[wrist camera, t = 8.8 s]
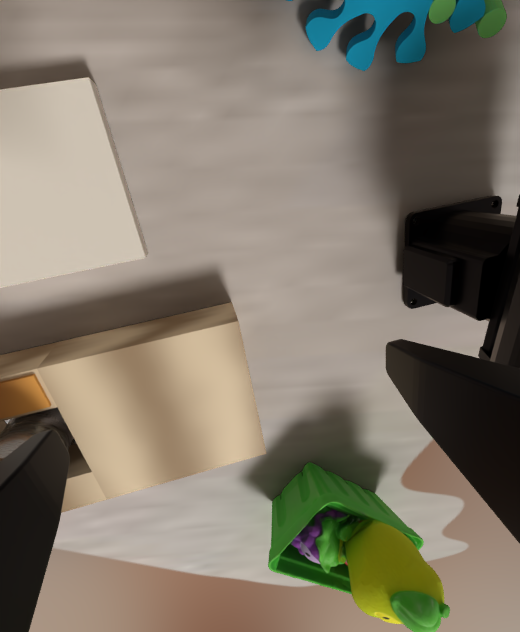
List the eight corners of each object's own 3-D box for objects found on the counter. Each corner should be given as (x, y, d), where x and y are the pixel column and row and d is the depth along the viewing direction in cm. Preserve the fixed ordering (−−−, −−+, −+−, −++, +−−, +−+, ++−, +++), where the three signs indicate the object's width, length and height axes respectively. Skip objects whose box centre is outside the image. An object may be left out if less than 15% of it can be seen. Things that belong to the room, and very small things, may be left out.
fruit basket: (250, 506, 28) (286, 693, 18) (316, 434, 26) (397, 595, 16) (340, 539, 33) (409, 704, 22) (401, 479, 31) (507, 628, 21)
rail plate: (231, 302, 21) (238, 322, 18) (257, 423, 25) (267, 455, 22) (-81, 373, 18) (-131, 410, 16) (5, 492, 23) (-22, 539, 20)
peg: (75, 374, 20) (25, 462, 14) (105, 436, 23) (73, 537, 16) (-14, 395, 20) (-108, 497, 13) (25, 457, 22) (-40, 570, 16)
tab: (95, 84, 15) (88, 77, 14) (148, 253, 18) (145, 258, 17) (-145, 118, 14) (-173, 113, 13) (-43, 292, 17) (-58, 299, 16)
